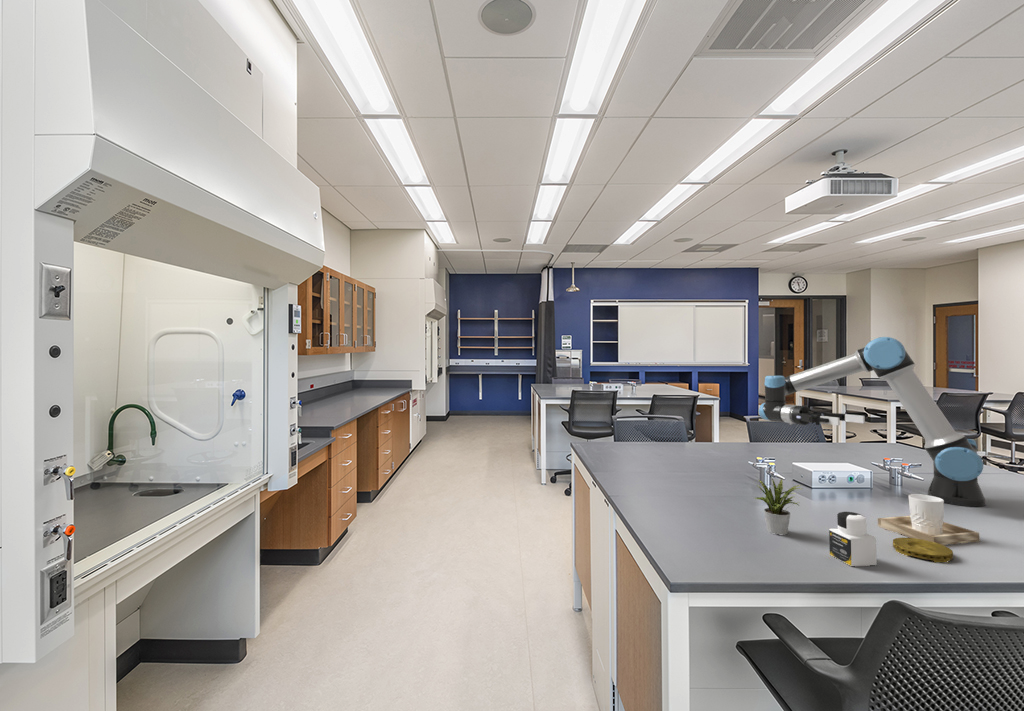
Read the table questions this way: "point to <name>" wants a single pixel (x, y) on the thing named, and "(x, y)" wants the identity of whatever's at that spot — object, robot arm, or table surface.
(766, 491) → the house plant
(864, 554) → the medicine bottle
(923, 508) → the white cup
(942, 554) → the gold notched disc
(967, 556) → the table surface
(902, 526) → the tray
